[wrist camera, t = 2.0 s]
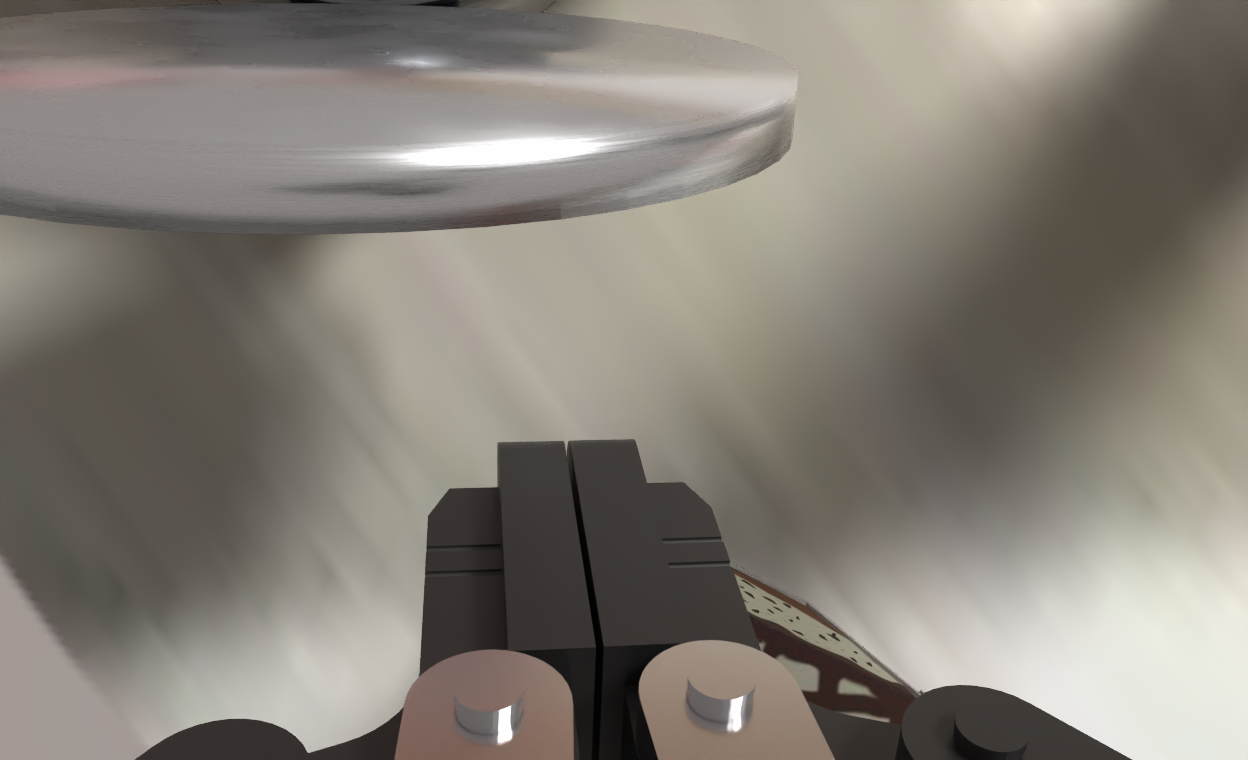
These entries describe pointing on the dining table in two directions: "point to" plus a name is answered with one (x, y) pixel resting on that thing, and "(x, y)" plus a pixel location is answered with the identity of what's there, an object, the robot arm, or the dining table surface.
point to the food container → (822, 654)
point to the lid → (371, 117)
